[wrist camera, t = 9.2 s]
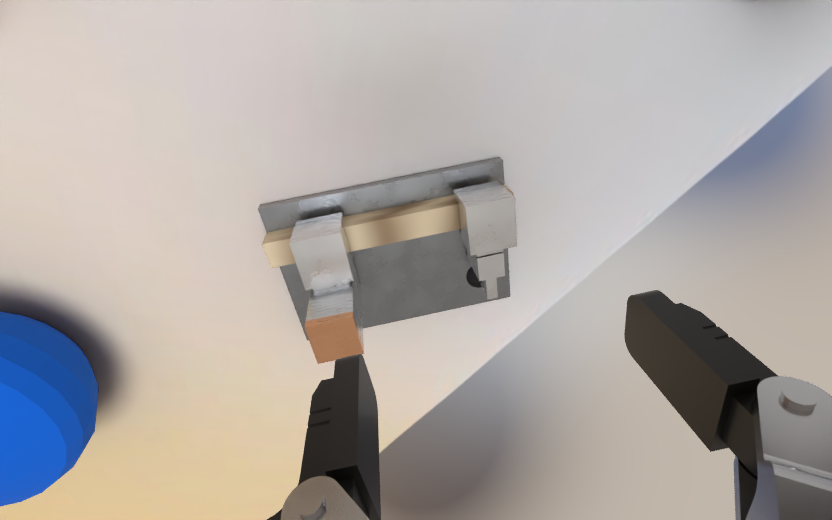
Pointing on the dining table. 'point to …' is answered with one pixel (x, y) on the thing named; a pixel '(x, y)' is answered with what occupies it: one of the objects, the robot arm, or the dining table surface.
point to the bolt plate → (398, 246)
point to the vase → (41, 406)
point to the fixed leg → (487, 230)
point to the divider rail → (379, 227)
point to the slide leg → (329, 287)
